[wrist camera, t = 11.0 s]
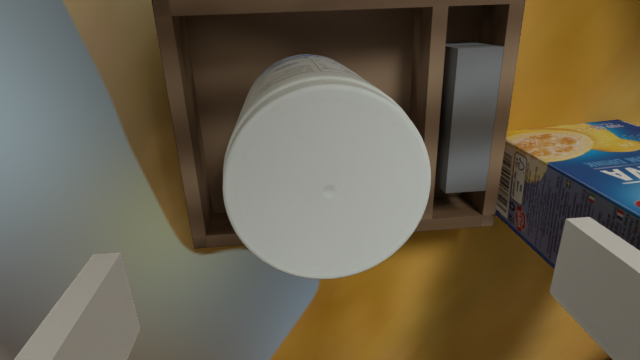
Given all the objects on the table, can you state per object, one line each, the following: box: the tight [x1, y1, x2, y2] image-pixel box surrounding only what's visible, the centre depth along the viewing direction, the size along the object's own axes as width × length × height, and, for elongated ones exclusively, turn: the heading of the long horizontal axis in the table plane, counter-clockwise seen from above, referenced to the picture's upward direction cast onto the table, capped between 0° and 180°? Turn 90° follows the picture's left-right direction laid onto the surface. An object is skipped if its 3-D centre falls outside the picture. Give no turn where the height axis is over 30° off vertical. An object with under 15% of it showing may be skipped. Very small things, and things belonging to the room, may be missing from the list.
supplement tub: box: [222, 54, 431, 279], centre depth 25 cm, size 10×10×15 cm
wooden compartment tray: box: [152, 0, 525, 249], centre depth 30 cm, size 17×23×5 cm
